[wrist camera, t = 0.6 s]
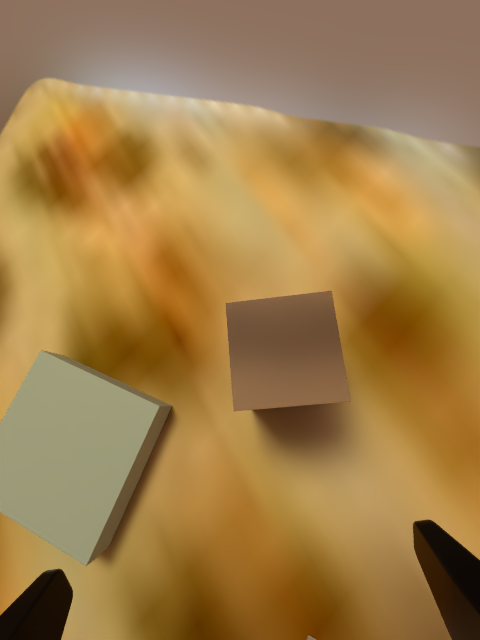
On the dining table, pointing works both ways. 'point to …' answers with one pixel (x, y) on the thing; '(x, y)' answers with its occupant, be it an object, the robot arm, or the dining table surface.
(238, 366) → the walnut block
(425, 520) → the robot arm
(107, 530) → the sage slab
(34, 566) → the dining table surface
